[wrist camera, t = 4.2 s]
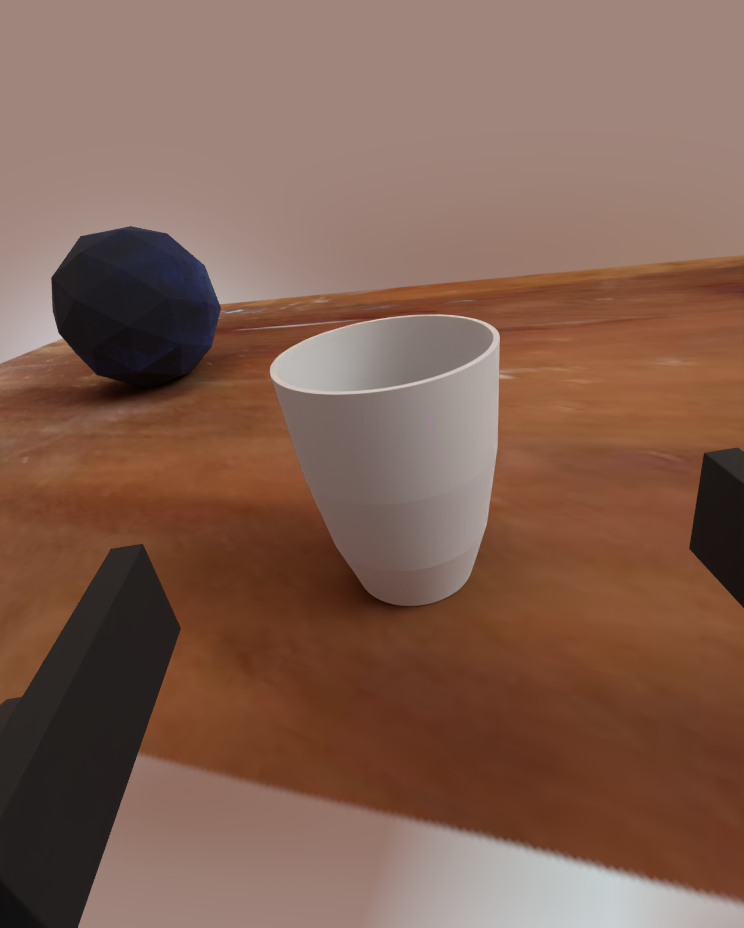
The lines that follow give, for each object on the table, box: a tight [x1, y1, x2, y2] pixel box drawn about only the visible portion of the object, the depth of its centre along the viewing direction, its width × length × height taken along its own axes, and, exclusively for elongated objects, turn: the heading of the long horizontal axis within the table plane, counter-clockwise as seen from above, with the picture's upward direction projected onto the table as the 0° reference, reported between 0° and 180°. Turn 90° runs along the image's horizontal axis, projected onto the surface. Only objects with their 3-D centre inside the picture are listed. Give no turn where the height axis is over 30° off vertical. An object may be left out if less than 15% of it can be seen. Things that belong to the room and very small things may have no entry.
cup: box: [270, 315, 500, 606], centre depth 22 cm, size 8×8×10 cm
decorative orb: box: [52, 226, 221, 388], centre depth 52 cm, size 14×15×15 cm
